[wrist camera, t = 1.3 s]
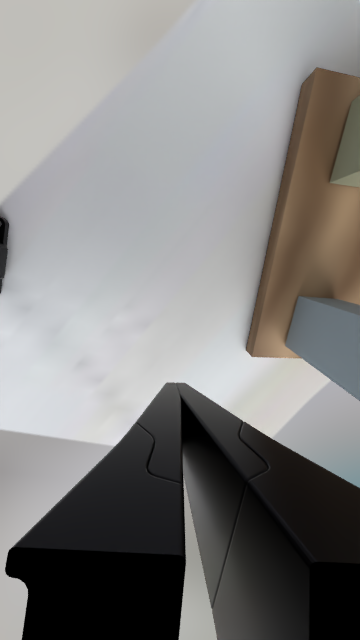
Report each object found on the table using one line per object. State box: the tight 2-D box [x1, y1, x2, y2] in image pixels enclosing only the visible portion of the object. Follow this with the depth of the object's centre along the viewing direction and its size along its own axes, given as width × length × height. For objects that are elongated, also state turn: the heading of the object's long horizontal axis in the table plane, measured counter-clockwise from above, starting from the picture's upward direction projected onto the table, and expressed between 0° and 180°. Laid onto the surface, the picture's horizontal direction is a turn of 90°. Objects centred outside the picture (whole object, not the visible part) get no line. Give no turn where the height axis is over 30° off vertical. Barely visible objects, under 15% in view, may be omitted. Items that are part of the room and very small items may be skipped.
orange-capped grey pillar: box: [285, 296, 360, 401], centre depth 15 cm, size 4×5×10 cm
